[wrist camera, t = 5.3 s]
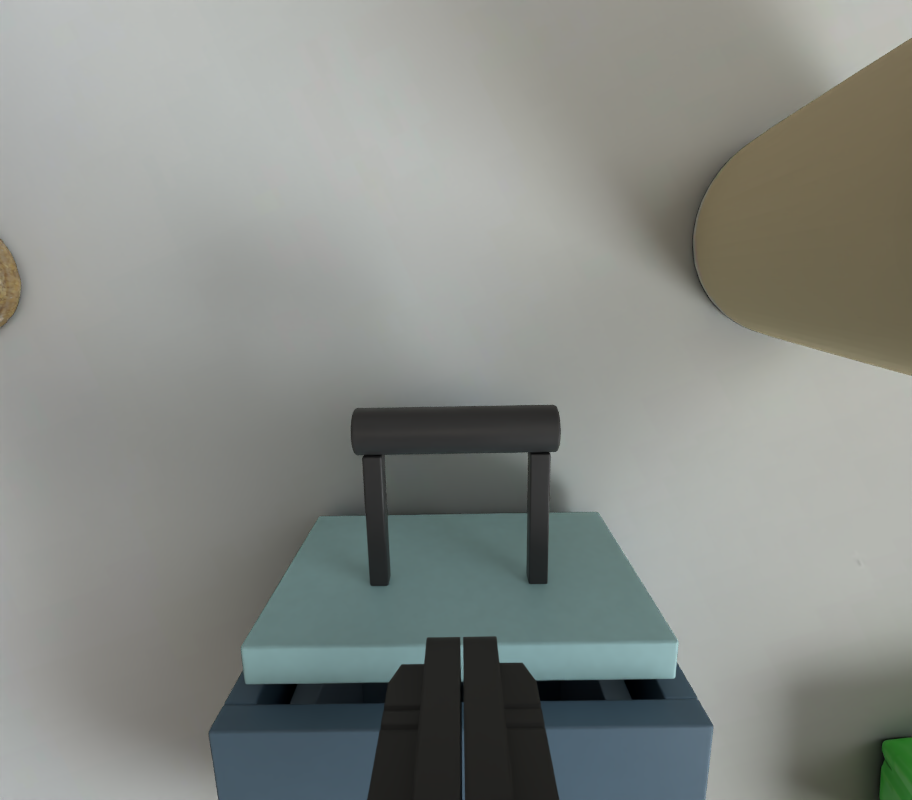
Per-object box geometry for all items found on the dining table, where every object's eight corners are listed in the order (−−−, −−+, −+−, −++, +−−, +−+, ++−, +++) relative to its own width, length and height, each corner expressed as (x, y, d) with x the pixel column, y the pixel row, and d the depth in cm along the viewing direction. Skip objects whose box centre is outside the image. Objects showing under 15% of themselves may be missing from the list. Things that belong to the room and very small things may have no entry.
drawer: (307, 380, 20) (212, 440, 12) (604, 375, 20) (698, 432, 12) (341, 780, 24) (285, 1014, 16) (586, 777, 24) (646, 1011, 16)
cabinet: (313, 541, 22) (206, 732, 13) (604, 537, 22) (714, 725, 13) (337, 809, 26) (265, 1121, 16) (591, 806, 26) (671, 1118, 16)
